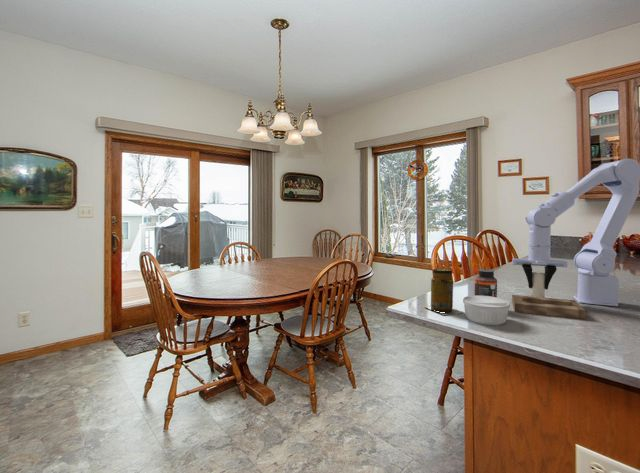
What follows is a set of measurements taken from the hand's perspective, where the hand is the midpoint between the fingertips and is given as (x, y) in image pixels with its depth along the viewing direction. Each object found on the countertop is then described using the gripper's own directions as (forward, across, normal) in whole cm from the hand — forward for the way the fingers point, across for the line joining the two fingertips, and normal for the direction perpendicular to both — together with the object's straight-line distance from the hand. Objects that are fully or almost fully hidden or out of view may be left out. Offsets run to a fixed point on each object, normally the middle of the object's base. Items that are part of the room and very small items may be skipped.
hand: (537, 288), depth 105 cm
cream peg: (+3, 0, 0) cm, 3 cm away
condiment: (+4, -26, -24) cm, 36 cm away
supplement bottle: (+4, -15, -16) cm, 22 cm away
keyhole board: (+4, 0, -12) cm, 12 cm away
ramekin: (+4, -15, -28) cm, 32 cm away
